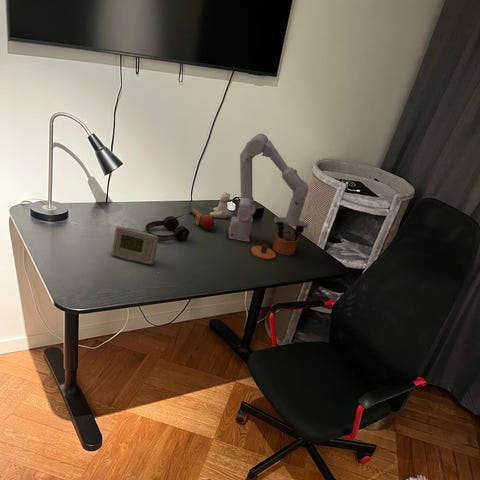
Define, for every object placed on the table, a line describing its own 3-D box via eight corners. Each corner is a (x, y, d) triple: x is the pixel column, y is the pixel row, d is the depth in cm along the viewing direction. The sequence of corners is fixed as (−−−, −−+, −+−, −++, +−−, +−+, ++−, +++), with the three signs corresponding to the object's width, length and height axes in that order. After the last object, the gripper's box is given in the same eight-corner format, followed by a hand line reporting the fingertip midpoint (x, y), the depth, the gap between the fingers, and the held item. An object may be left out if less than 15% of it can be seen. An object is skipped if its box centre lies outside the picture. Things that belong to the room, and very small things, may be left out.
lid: (251, 258, 197) (253, 248, 195) (249, 246, 206) (251, 237, 204) (276, 262, 199) (279, 253, 197) (273, 250, 208) (275, 241, 206)
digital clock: (108, 255, 174) (110, 229, 168) (120, 246, 181) (123, 221, 175) (148, 269, 172) (151, 243, 166) (159, 260, 179) (162, 234, 173)
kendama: (184, 217, 219) (200, 229, 206) (188, 204, 217) (204, 215, 204) (199, 220, 224) (215, 232, 210) (203, 207, 221) (219, 219, 208)
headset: (199, 217, 193) (154, 225, 184) (197, 238, 199) (153, 247, 190) (183, 203, 202) (139, 210, 192) (182, 224, 208) (140, 231, 198)
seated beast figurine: (213, 210, 231) (218, 186, 224) (230, 215, 230) (235, 191, 223) (208, 216, 223) (213, 192, 216) (226, 221, 222) (231, 197, 216)
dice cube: (292, 245, 207) (295, 235, 204) (282, 245, 205) (285, 235, 202) (287, 240, 211) (291, 230, 208) (278, 240, 209) (280, 229, 206)
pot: (273, 253, 205) (277, 239, 201) (270, 243, 213) (274, 229, 209) (295, 257, 207) (300, 243, 203) (292, 247, 215) (296, 233, 211)
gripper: (279, 211, 195) (271, 241, 203) (312, 218, 198) (303, 246, 205) (277, 205, 201) (269, 234, 208) (309, 211, 203) (300, 239, 211)
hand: (286, 240), depth 207 cm, fingers closed on dice cube, 6 cm apart
